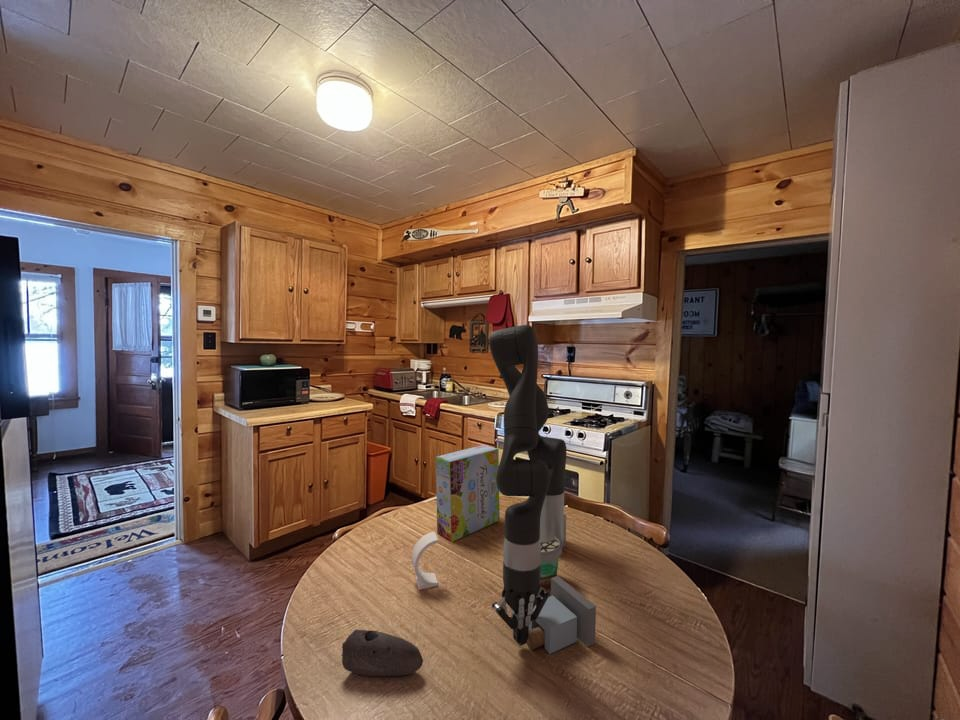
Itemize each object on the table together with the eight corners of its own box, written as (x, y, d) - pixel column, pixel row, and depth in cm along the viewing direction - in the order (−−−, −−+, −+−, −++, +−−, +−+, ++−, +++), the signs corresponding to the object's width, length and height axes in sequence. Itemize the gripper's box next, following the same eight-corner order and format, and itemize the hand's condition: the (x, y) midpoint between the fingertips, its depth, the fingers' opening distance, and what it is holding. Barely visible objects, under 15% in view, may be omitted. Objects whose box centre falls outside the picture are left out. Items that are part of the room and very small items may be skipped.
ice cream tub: (531, 598, 96) (532, 558, 96) (517, 584, 101) (518, 546, 101) (571, 584, 102) (572, 546, 101) (556, 571, 107) (556, 535, 107)
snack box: (483, 513, 143) (484, 443, 142) (500, 522, 137) (501, 448, 135) (434, 533, 128) (434, 454, 127) (451, 543, 122) (451, 461, 121)
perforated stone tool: (426, 665, 76) (426, 630, 76) (418, 688, 71) (418, 651, 70) (352, 656, 78) (352, 622, 78) (339, 679, 73) (339, 642, 72)
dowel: (553, 625, 86) (557, 615, 85) (562, 639, 83) (566, 629, 82) (523, 638, 82) (527, 627, 81) (532, 653, 79) (535, 643, 78)
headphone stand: (438, 585, 101) (438, 539, 100) (414, 590, 99) (414, 543, 98) (434, 575, 105) (434, 531, 104) (411, 580, 103) (411, 535, 102)
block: (552, 618, 89) (552, 595, 88) (576, 641, 82) (576, 616, 82) (526, 629, 85) (527, 605, 85) (549, 654, 78) (550, 628, 78)
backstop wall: (557, 609, 92) (557, 575, 92) (595, 643, 82) (595, 606, 81) (550, 611, 91) (550, 578, 91) (587, 647, 81) (588, 609, 80)
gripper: (537, 542, 86) (535, 620, 86) (483, 557, 79) (483, 641, 80) (559, 559, 79) (558, 643, 80) (503, 577, 73) (502, 668, 73)
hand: (520, 642), depth 80 cm, fingers closed
